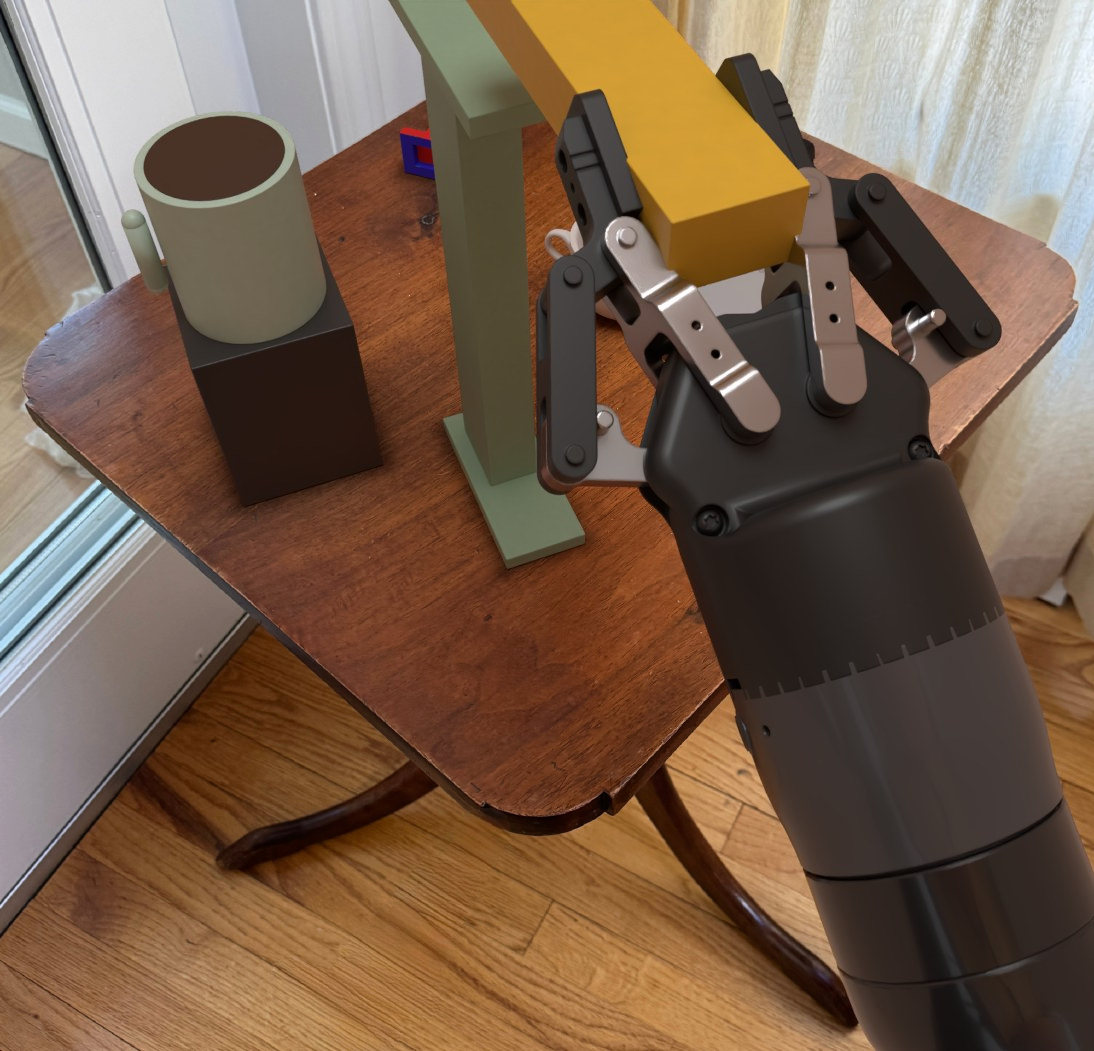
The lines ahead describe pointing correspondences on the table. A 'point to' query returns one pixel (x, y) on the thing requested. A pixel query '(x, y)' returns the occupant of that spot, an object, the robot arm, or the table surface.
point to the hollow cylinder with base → (253, 302)
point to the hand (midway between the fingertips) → (655, 90)
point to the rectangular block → (661, 129)
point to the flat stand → (487, 273)
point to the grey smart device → (735, 294)
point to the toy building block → (417, 152)
